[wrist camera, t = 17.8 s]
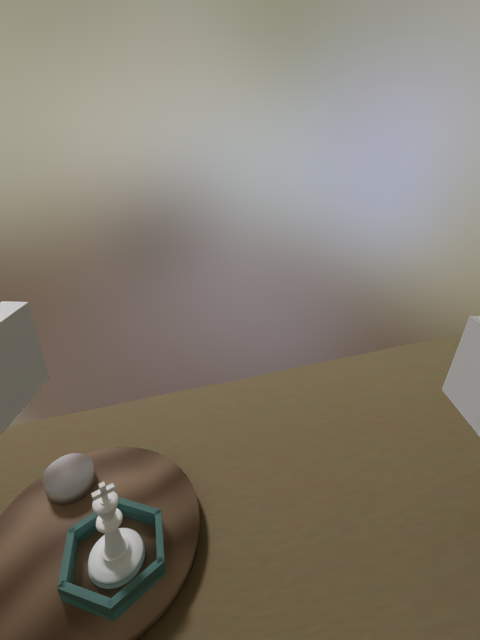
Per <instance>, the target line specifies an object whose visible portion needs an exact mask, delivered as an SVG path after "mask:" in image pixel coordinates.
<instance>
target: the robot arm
mask: <svg viewBox="0 0 480 640" xmlns="http://www.w3.org/2000/svg"><path fill="white" fill-rule="evenodd" d="M48 379H49V374H48V371H47V367H46V364H45V360H44V357H43V353H42V349H41V346H40V342H39V339H38V335H37V332H36V328H35V325H34V321H33V318H32V314H31V311H30V308H29V303H28V302H6V301H5V302H4V301H3V302H1V303H0V435H1V434H2V433H3V432H4V431H5V429H6V428H7V427H8V426H9V425H10V423H11V422H12V421H13V420H14V419H15V418H16V416H17V415H18V414H19V413H20V412H21V410H22V409H23V408H24V407H25V406H26V405H27V403H28V402H29V401H30V400H31V399H32V397H33V396H34V395H35V394H36V393H37V392H38V390H39V389H40V388H41V387H42V385H43V384H44V383H45V382H46V381H47V380H48ZM442 391H443V392H444V393H445V394H446V395H447V397H448V398H449V399H450V400H451V402H452V403H453V404H454V405H455V407H456V408H457V409H458V410H459V412H460V413H461V414H462V415H463V417H464V418H465V419H466V420H467V422H468V423H469V424H470V425H471V427H472V428H473V429H474V430H475V432H476V433H477V434H478V435H479V436H480V316H470V317H469V319H468V322H467V325H466V328H465V330H464V333H463V335H462V338H461V340H460V343H459V346H458V348H457V351H456V354H455V356H454V359H453V362H452V364H451V367H450V370H449V372H448V375H447V378H446V380H445V383H444V385H443V388H442Z"/></svg>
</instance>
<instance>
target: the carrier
mask: <svg viewBox="0 0 480 640" xmlns="http://www.w3.org/2000/svg"><path fill="white" fill-rule="evenodd" d="M103 481H104V483H105V485H106V486H107V485H109V484H111V483H113V484H114V486H115V491H114V492H116V493H117V495H118V498H119V501H118V505H117V508H118V509H119V510H120V511H121V512H122V515H123V519H122V522H121V524H120V526H119V527H118V528H129V529H132V530H134V531H136V532H137V533H138V534H139V535H140V537H141V538H142V541H143V543H144V546H145V557H144V561H143V564H142V566H141V568H140V570H139V571H138V573H137V574H136V575H135V576H134V577H133V578H132V579H131V580H130V581H129V582H127V583H126V584H124V585H122V586H120V587H117V588H113V589H104V588H100V587H98V586H96V585H95V584H94V583H93V582H92V580H91V579H90V577H89V573H88V559H89V555H90V552H91V550H92V548H93V546H94V545H95V543H96V542H97V541H98V540H99V539H100V538H101V537H102V536H103V535H105V533H101V532H99V531H98V530H97V528H96V520H97V517H98V515H97V514H96V513H95V512H94V511H93V508H92V503H93V498H92V495H91V493H93V492H95V491H97V490H99V485H98V484H99V483H101V482H103ZM199 528H200V519H199V506H198V501H197V497H196V493H195V491H194V488H193V486H192V484H191V482H190V480H189V479H188V477H187V475H186V474H185V473H184V472H183V471H182V469H181V468H180V467H178V466H177V465H176V464H175V463H174V462H173V461H171V460H170V459H168V458H167V457H165V456H163V455H161V454H158V453H156V452H153V451H150V450H146V449H141V448H133V447H116V448H107V449H102V450H97V451H93V452H90V453H86V454H82V453H72V454H68V455H65V456H62V457H60V458H59V459H57V460H55V461H54V462H53V463H51V464H50V465H49V466H48V468H47V469H46V470H45V472H44V474H43V476H41V477H40V478H39V479H37V480H36V481H35V482H33V483H32V484H31V485H30V486H29V487H27V488H26V489H25V490H24V491H23V492H22V493H21V494H20V495H19V496H18V497H17V498H16V499H15V500H14V501H13V502H12V503H11V504H10V506H9V507H8V508H7V509H6V510H5V512H4V513H3V514H2V516H1V517H0V640H137V639H139V638H140V637H141V636H142V635H143V634H144V633H145V632H147V631H148V630H149V629H150V628H151V627H152V626H153V625H154V624H155V623H156V622H157V621H158V620H159V619H160V618H161V617H162V616H163V614H164V613H165V612H166V611H167V610H168V608H169V607H170V606H171V604H172V603H173V601H174V600H175V599H176V597H177V596H178V594H179V592H180V591H181V589H182V587H183V585H184V584H185V582H186V580H187V578H188V575H189V573H190V571H191V568H192V566H193V563H194V559H195V556H196V553H197V547H198V542H199Z"/></svg>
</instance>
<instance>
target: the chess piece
mask: <svg viewBox="0 0 480 640" xmlns="http://www.w3.org/2000/svg"><path fill="white" fill-rule="evenodd" d="M98 485H99V490H97V491H95V492H93V493H91V495H92V498H93V503H92V508H93V511H94V512H95V513H96V514H97V515H98V517H97V520H96V528H97V530H98V531H99V532H101V533H105V535H103V536H102V537H101V538H100V539H99V540H98V541H97V542H96V543H95V545H94V546H93V548H92V550H91V552H90V555H89V559H88V573H89V577H90V579H91V580H92V582H93V583H94V584H95V585H96V586H98V587H100V588H104V589H113V588H117V587H120V586H122V585H124V584H126V583H127V582H129V581H130V580H131V579H132V578H133V577H134V576H135V575H136V574H137V573H138V571H139V570H140V568H141V566H142V564H143V561H144V557H145V546H144V543H143V541H142V538H141V537H140V535H139V534H138V533H137V532H136V531H134V530H132V529H129V528H118V527H119V526H120V524H121V522H122V519H123V515H122V512H121V511H120V510H119V509H118V508H117V505H118V501H119V498H118V495H117V493H116V492H114V491H115V486H114V484H113V483H111V484H109V485H107V486H106V485H105V483H104V481H103V482H101V483H99V484H98Z"/></svg>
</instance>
